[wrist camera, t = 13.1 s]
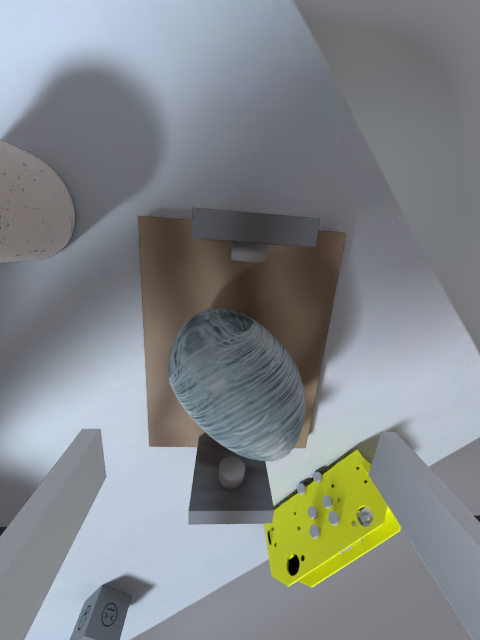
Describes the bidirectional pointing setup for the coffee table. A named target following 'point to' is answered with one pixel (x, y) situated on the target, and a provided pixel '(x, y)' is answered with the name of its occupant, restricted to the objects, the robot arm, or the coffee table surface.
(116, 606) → the dice cube
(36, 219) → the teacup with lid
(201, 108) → the coffee table surface
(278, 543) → the yellow toy chassis
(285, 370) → the grey egg-shaped piece
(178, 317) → the roll holder
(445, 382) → the coffee table surface
